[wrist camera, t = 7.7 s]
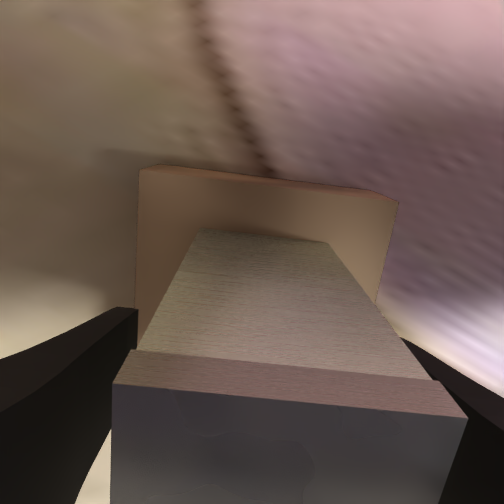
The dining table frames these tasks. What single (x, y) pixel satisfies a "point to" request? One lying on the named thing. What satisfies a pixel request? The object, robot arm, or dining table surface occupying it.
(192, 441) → the tea tin
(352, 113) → the dining table surface
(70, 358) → the robot arm
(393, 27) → the dining table surface
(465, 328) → the dining table surface
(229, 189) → the tan flat square block
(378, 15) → the dining table surface
